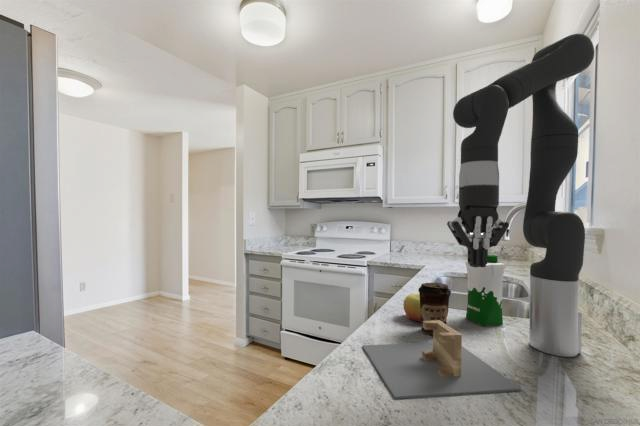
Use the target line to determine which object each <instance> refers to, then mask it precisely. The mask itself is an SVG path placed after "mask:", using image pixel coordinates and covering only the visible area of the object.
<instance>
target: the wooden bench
mask: <svg viewBox="0 0 640 426" xmlns="http://www.w3.org/2000/svg"><path fill="white" fill-rule="evenodd" d="M423 328H424V329H425V330H431V329H433V335H432V343H433V350H432V351H422V358H423V359H424V360H437V361H438V362H439V363H440V364H441V365H442V366H438V374H439V375H440V376H441V377H453V376H461V348H462V346H463V345H462V344H463V343H462V342H463V341H462V339H463V338H462V334H461V333H460V332H458V331H457V330H455V329H454V328H452V327H450V326H449V325H448V324H447V323H446V324H444V323H443V322H441V321H440V320H434V321H423Z"/></svg>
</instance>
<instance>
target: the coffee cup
mask: <svg viewBox="0 0 640 426" xmlns="http://www.w3.org/2000/svg"><path fill="white" fill-rule="evenodd" d="M418 294H419V295H420V310H421V322H420V323H421V332H422V333H424V334H426V335H428V336H429V335H430V336H433V329H431V330H425V329H424V328H423V321H434V320H440V321H441V322H443V323H444V324H446V325H447V321H448V320H447V318H448V313H449V306H450V305H449V303H450V297H451V294H452V290H451V289H449V285H448V284H445V283H441V282H425V283H424V282H422V283H421V286H420V287H419V288H418Z"/></svg>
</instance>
